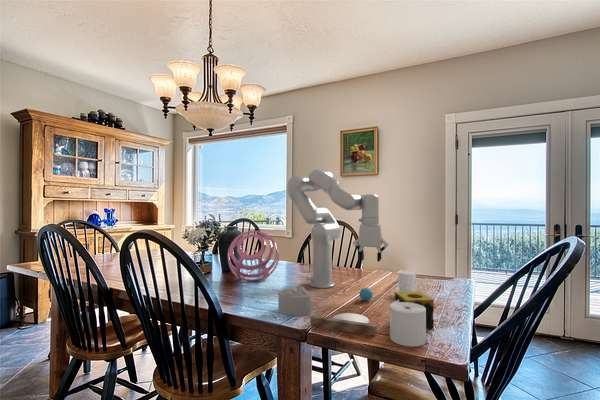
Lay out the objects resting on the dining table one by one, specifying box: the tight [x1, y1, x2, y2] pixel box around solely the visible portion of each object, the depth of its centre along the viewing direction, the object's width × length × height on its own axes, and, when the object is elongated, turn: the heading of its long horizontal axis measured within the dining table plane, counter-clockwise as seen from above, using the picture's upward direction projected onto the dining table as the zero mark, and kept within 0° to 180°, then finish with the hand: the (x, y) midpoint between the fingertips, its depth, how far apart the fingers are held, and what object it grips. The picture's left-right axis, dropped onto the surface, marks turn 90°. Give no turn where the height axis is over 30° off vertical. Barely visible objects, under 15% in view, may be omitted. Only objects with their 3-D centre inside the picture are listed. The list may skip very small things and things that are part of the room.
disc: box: [332, 312, 370, 324], centre depth 118 cm, size 13×13×1 cm
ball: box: [358, 287, 374, 302], centre depth 141 cm, size 6×6×6 cm
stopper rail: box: [310, 315, 378, 337], centre depth 109 cm, size 22×2×3 cm, turn 66°
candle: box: [394, 291, 435, 330], centre depth 114 cm, size 10×10×10 cm
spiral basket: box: [227, 230, 280, 283], centre depth 181 cm, size 28×28×27 cm
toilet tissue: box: [389, 300, 427, 347], centre depth 102 cm, size 11×12×10 cm
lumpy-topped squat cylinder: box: [277, 286, 312, 317], centre depth 128 cm, size 10×13×9 cm
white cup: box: [397, 270, 417, 292], centre depth 151 cm, size 8×8×10 cm
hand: (370, 260), depth 150 cm, fingers open, 6 cm apart
